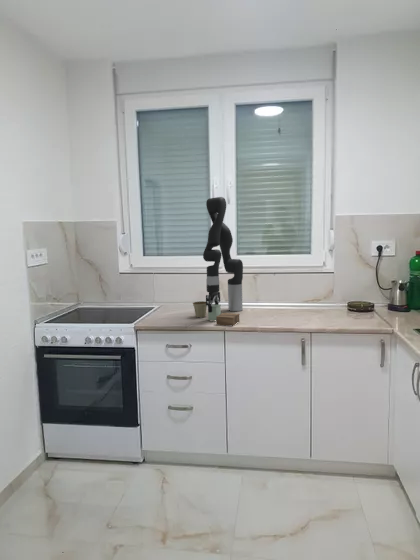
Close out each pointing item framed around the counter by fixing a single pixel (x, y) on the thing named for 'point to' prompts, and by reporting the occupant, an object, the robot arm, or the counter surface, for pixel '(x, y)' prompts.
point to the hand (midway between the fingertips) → (213, 310)
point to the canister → (214, 312)
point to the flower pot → (200, 308)
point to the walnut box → (227, 319)
